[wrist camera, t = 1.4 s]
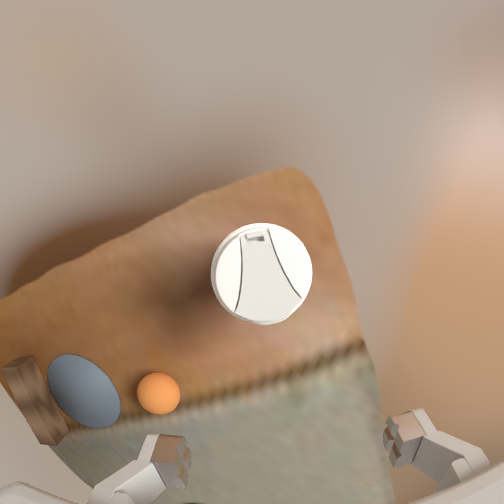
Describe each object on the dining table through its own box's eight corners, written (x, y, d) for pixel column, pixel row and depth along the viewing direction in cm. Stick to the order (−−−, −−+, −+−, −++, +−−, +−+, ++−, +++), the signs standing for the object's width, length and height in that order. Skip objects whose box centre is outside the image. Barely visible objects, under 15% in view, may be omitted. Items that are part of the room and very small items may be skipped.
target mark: (134, 426, 37) (134, 426, 37) (70, 427, 37) (69, 428, 37) (99, 348, 36) (98, 349, 36) (36, 358, 36) (35, 358, 36)
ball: (189, 397, 37) (182, 420, 32) (152, 402, 37) (141, 424, 32) (175, 362, 37) (165, 382, 31) (138, 368, 37) (124, 387, 31)
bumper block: (69, 429, 38) (56, 445, 33) (53, 429, 38) (40, 444, 33) (33, 355, 36) (16, 367, 31) (19, 357, 36) (1, 368, 31)
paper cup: (216, 231, 36) (198, 234, 22) (282, 218, 36) (305, 213, 22) (230, 297, 36) (221, 339, 22) (294, 284, 36) (323, 318, 22)
